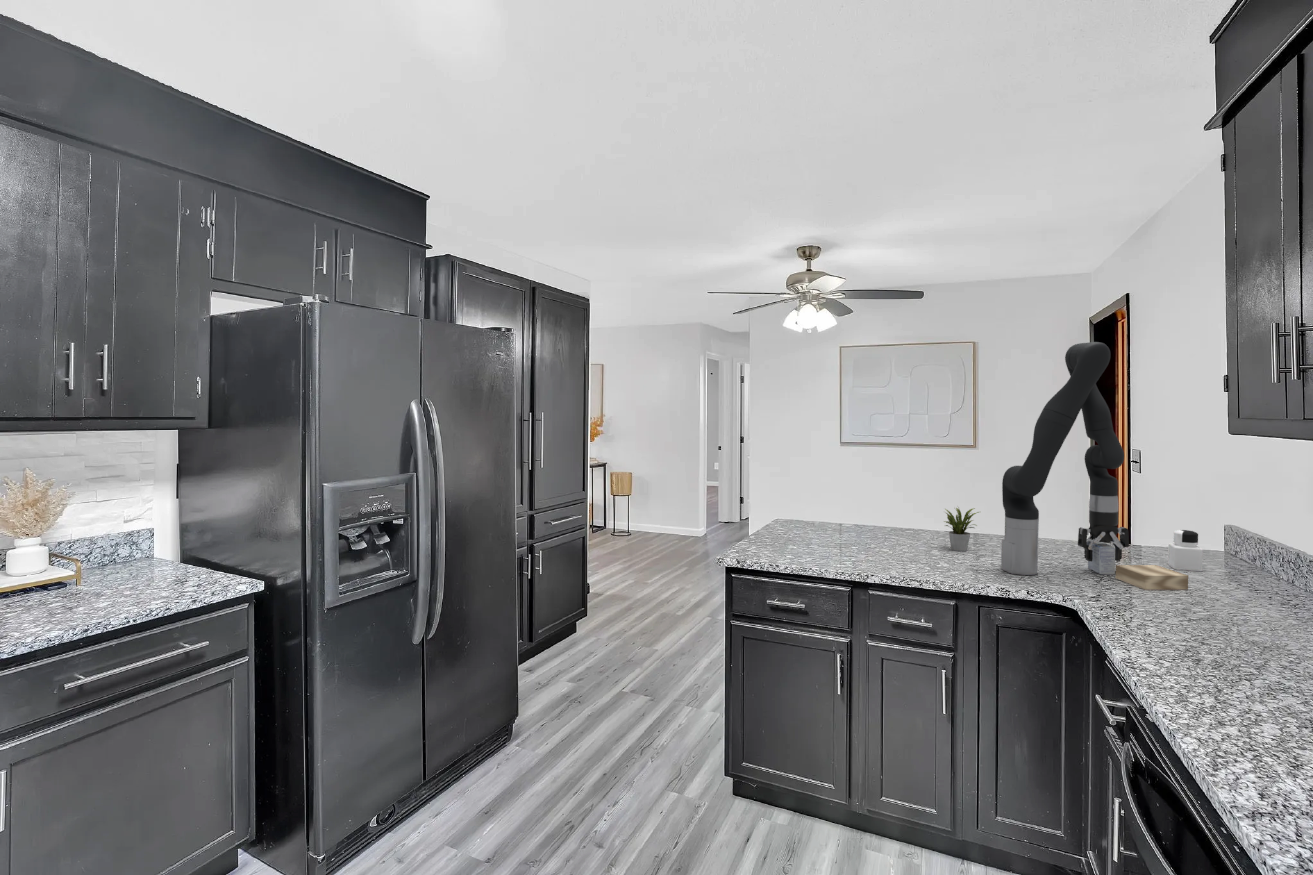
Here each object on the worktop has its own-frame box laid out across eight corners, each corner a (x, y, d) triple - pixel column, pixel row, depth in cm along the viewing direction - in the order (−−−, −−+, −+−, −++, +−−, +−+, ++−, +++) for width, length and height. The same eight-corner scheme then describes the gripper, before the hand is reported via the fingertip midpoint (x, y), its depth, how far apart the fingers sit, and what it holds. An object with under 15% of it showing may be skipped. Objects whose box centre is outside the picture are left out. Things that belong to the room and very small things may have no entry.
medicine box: (1115, 575, 198) (1116, 547, 197) (1099, 574, 199) (1099, 546, 198) (1103, 568, 206) (1103, 541, 205) (1087, 568, 206) (1088, 541, 206)
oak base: (1144, 589, 182) (1145, 575, 182) (1115, 578, 194) (1115, 565, 194) (1187, 589, 182) (1188, 575, 182) (1155, 578, 194) (1156, 565, 194)
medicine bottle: (1195, 566, 207) (1196, 529, 207) (1202, 571, 201) (1204, 533, 200) (1167, 564, 210) (1168, 528, 210) (1174, 569, 204) (1175, 532, 203)
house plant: (987, 548, 235) (988, 504, 235) (983, 556, 224) (983, 509, 223) (944, 544, 243) (945, 501, 242) (938, 551, 231) (939, 506, 231)
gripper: (1088, 511, 197) (1087, 564, 198) (1135, 510, 197) (1134, 563, 198) (1072, 507, 205) (1072, 558, 206) (1118, 507, 204) (1118, 557, 205)
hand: (1103, 560), depth 202 cm, fingers open, 8 cm apart
